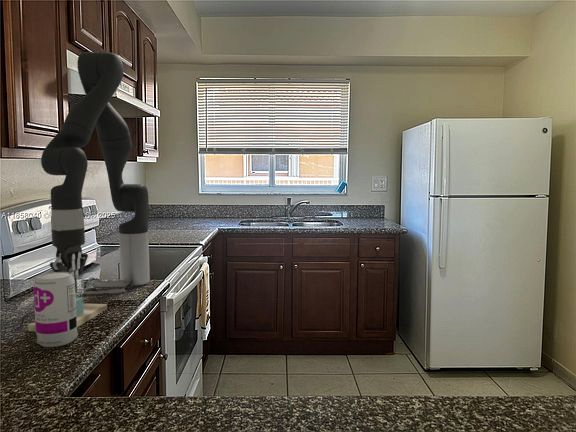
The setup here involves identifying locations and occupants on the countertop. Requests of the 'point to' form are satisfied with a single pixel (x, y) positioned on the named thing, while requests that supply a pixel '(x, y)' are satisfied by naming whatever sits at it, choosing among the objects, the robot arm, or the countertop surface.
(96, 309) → the board
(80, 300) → the block
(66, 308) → the supplement can
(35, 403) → the countertop surface
